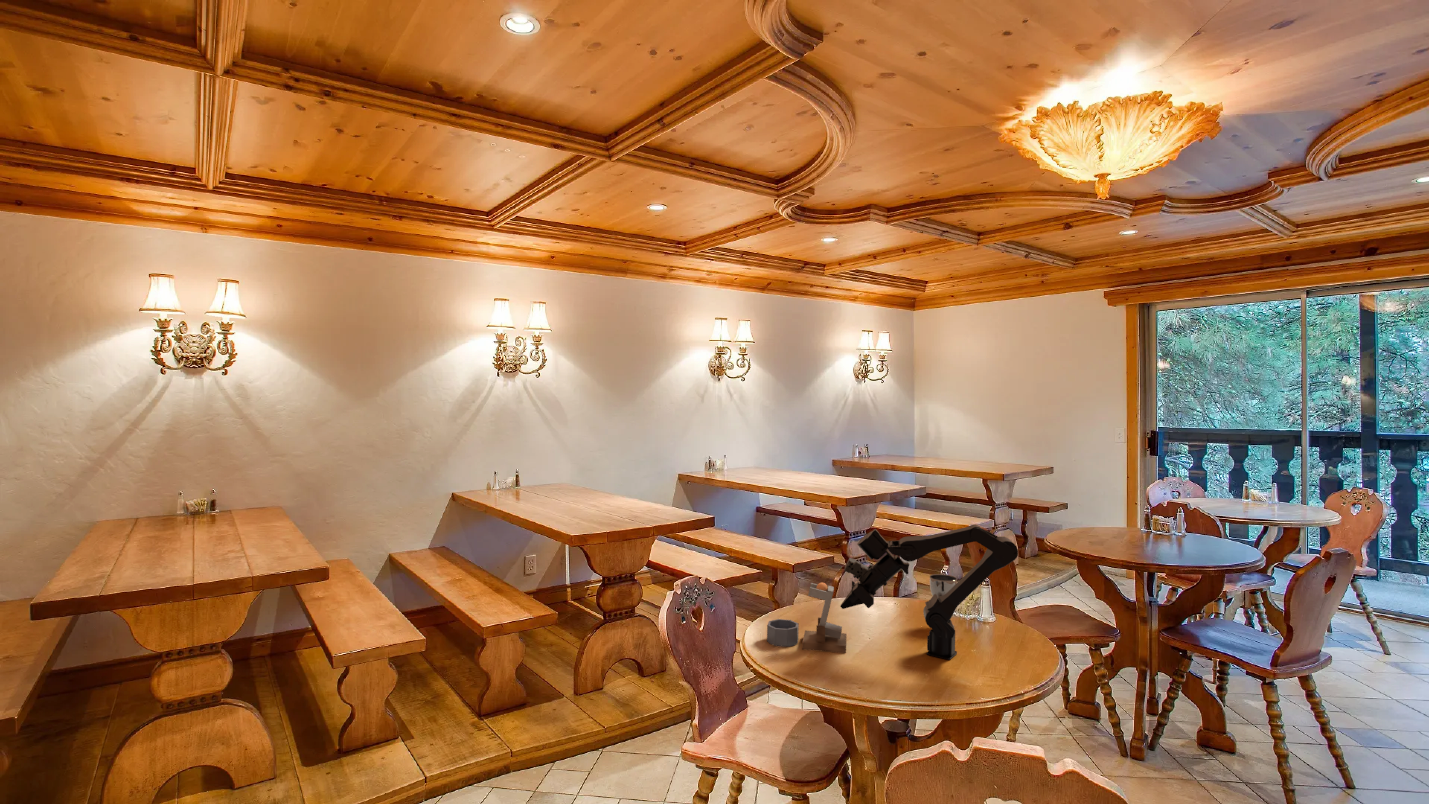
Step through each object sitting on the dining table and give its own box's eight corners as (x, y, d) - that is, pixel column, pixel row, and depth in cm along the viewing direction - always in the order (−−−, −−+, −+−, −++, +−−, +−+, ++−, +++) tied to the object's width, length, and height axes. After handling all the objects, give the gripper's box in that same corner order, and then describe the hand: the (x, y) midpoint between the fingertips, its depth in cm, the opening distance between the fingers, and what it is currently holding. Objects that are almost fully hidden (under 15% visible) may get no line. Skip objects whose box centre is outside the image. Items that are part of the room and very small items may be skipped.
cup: (799, 637, 209) (799, 620, 209) (796, 648, 201) (796, 630, 200) (769, 635, 211) (769, 618, 211) (765, 645, 202) (766, 628, 202)
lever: (840, 634, 205) (850, 591, 204) (839, 641, 200) (850, 596, 199) (801, 623, 207) (811, 580, 207) (799, 629, 202) (810, 585, 201)
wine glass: (923, 622, 223) (924, 575, 223) (944, 620, 226) (945, 573, 226) (940, 631, 216) (940, 581, 216) (961, 628, 219) (962, 579, 218)
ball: (828, 594, 204) (830, 583, 203) (823, 596, 201) (825, 585, 201) (818, 591, 205) (820, 580, 205) (813, 592, 203) (815, 581, 203)
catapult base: (846, 640, 207) (846, 618, 207) (845, 653, 197) (846, 629, 197) (804, 637, 209) (805, 615, 209) (802, 649, 200) (802, 626, 199)
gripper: (862, 542, 210) (823, 577, 212) (862, 557, 192) (819, 595, 194) (888, 571, 209) (849, 605, 211) (891, 589, 190) (848, 626, 193)
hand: (841, 607), depth 202 cm, fingers closed
